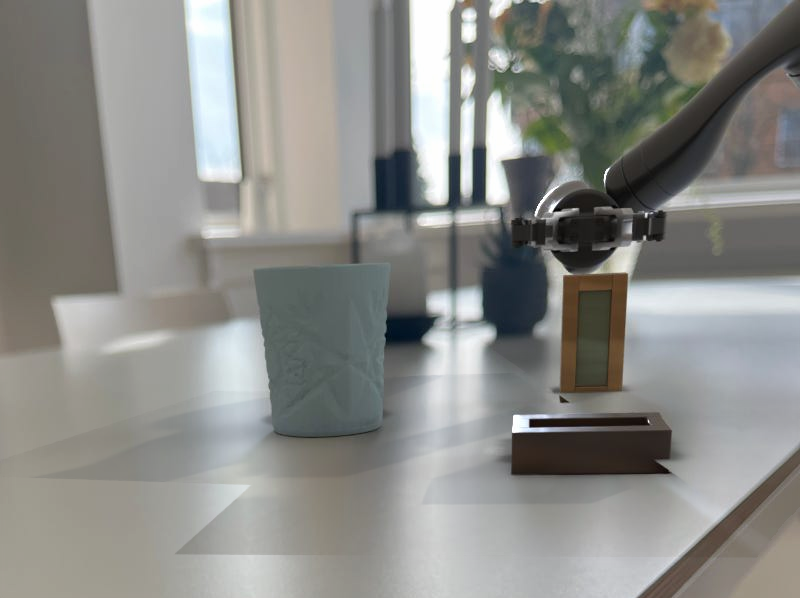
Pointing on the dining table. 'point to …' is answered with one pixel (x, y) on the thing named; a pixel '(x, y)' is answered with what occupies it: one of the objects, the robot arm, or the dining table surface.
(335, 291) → the pale blue-green cup
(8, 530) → the dining table surface
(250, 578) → the dining table surface
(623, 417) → the holder
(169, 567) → the dining table surface
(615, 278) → the frame
